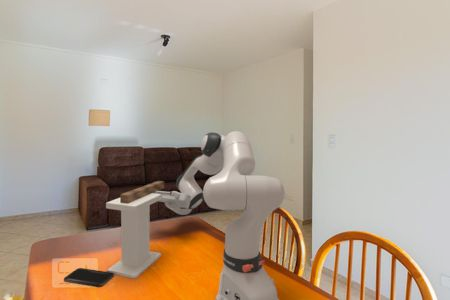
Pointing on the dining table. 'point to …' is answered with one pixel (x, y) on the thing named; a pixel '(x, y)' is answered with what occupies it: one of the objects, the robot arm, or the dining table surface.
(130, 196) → the walnut bar
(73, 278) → the phone
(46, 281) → the dining table surface
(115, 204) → the pedestal
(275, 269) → the dining table surface
